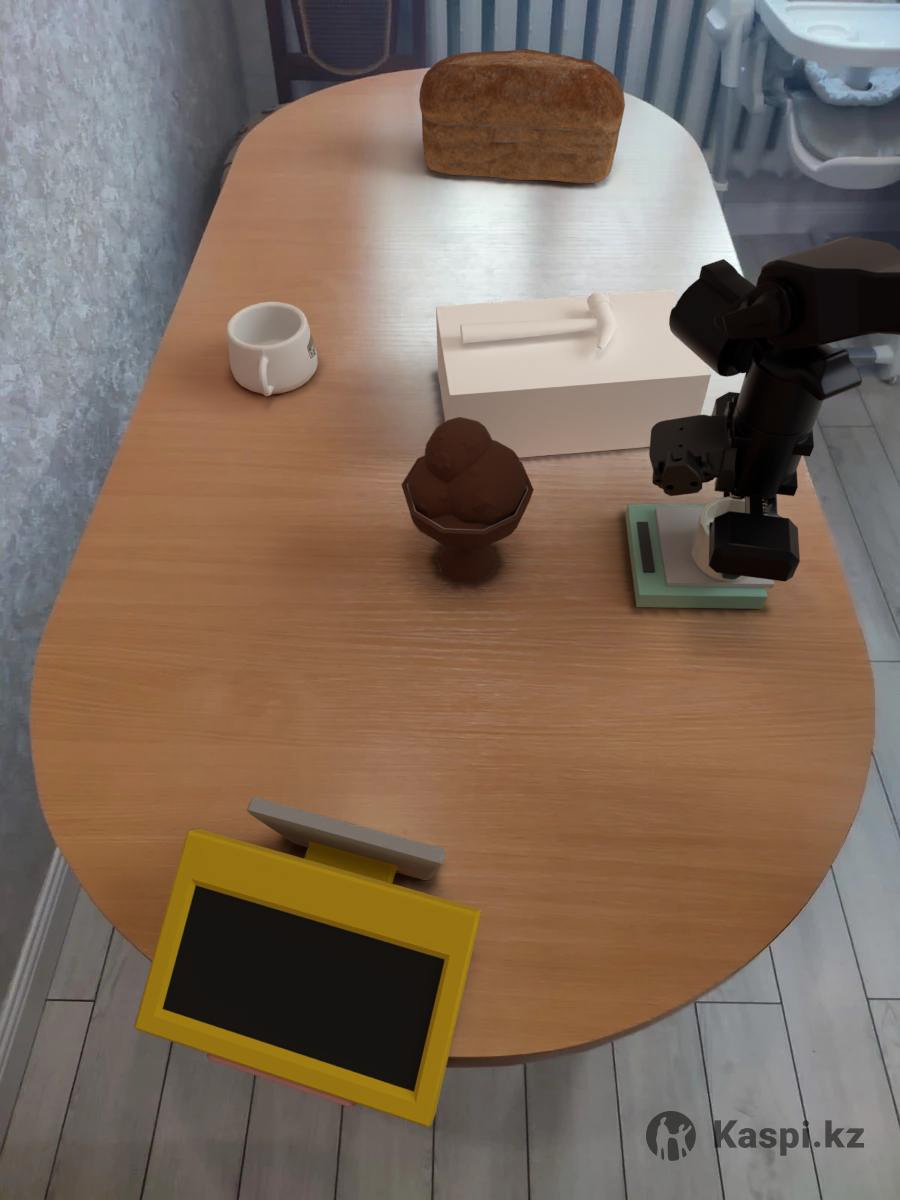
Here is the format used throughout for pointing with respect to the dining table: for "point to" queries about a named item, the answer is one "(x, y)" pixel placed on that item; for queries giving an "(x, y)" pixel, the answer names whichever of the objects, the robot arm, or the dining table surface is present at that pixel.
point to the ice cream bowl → (466, 496)
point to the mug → (271, 348)
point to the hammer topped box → (568, 370)
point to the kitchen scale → (679, 563)
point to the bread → (521, 116)
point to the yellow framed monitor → (314, 962)
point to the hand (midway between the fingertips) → (728, 550)
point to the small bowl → (702, 532)
